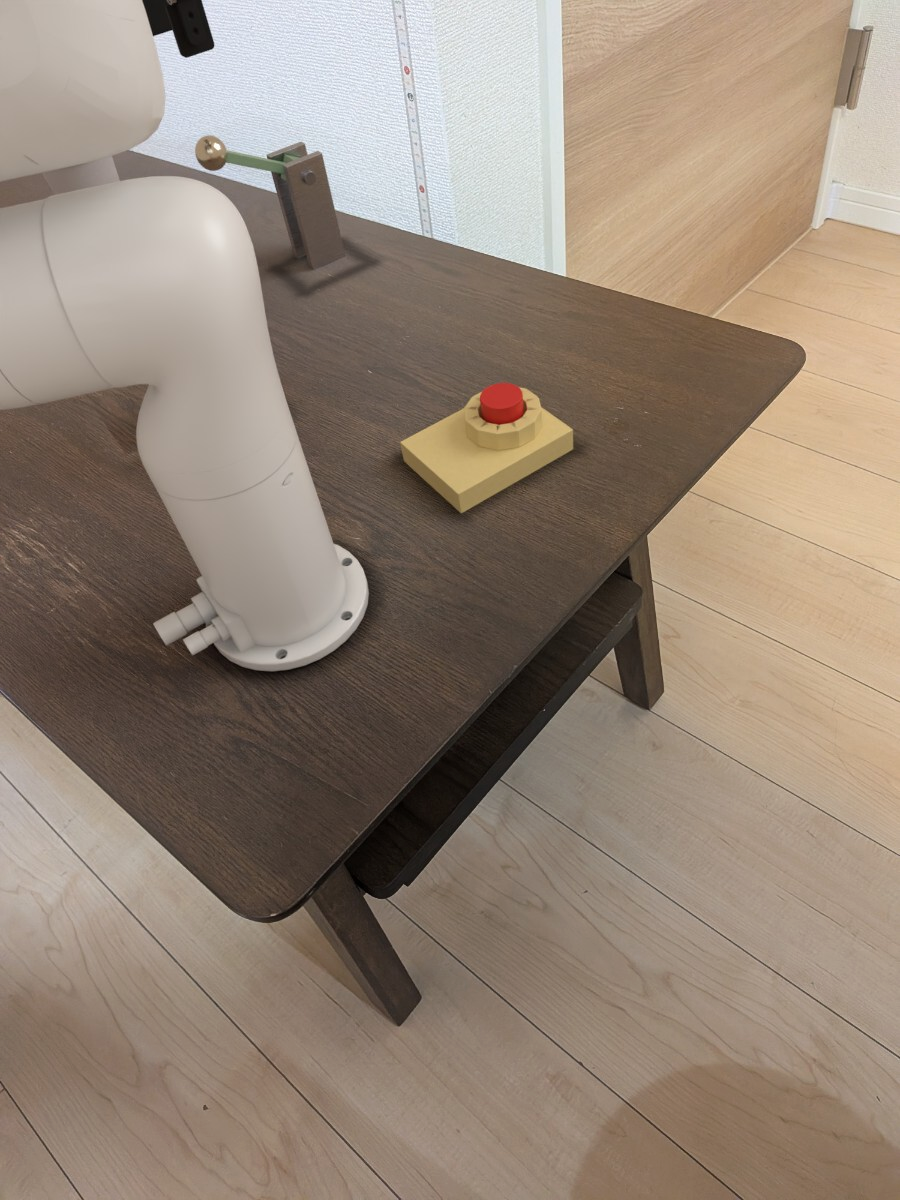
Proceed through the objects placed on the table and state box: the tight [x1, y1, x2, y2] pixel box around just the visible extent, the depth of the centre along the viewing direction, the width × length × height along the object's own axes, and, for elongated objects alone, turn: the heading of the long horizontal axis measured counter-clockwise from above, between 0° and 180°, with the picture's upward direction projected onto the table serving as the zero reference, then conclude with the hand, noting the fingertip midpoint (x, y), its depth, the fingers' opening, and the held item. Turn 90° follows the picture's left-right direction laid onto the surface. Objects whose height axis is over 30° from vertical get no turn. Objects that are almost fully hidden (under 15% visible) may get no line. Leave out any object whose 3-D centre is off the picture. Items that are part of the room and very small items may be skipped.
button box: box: [399, 386, 574, 514], centre depth 71 cm, size 12×9×4 cm
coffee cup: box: [41, 156, 121, 195], centre depth 102 cm, size 10×10×15 cm
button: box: [480, 382, 524, 425], centre depth 70 cm, size 4×4×2 cm
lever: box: [194, 135, 299, 181], centre depth 87 cm, size 13×3×3 cm, turn 124°
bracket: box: [266, 141, 346, 271], centre depth 94 cm, size 9×8×13 cm
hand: (178, 42), depth 77 cm, fingers open, 9 cm apart
